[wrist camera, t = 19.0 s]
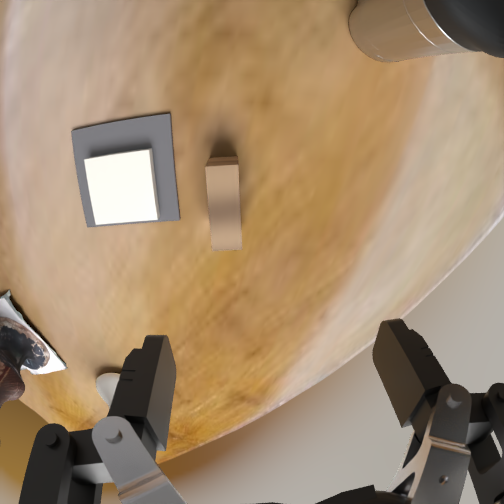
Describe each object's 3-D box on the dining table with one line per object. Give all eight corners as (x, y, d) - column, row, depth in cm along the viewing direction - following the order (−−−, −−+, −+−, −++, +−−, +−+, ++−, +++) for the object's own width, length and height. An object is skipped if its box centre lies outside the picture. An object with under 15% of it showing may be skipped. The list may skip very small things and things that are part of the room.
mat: (72, 130, 33) (71, 131, 33) (170, 113, 34) (169, 113, 33) (88, 226, 39) (87, 227, 39) (180, 219, 40) (179, 220, 40)
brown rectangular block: (209, 157, 37) (205, 166, 31) (237, 155, 37) (238, 164, 31) (215, 231, 41) (212, 251, 36) (241, 229, 41) (242, 249, 36)
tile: (84, 159, 33) (95, 224, 37) (149, 149, 33) (157, 219, 37) (90, 157, 35) (100, 219, 39) (152, 147, 35) (160, 215, 39)
